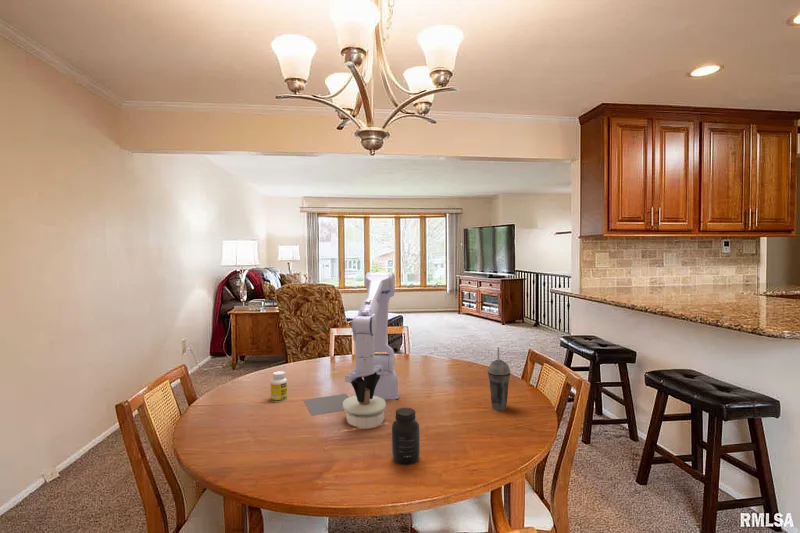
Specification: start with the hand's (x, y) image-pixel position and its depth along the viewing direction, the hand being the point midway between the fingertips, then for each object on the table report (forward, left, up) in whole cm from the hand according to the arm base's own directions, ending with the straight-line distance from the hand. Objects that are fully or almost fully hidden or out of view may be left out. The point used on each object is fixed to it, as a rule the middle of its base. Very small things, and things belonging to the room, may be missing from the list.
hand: (365, 400), depth 124 cm
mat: (+7, -17, -6) cm, 19 cm away
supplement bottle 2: (-2, +26, -7) cm, 27 cm away
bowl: (0, 0, -6) cm, 6 cm away
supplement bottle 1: (+22, -29, -7) cm, 37 cm away
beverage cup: (-43, +8, -7) cm, 44 cm away
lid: (0, 0, -2) cm, 2 cm away
